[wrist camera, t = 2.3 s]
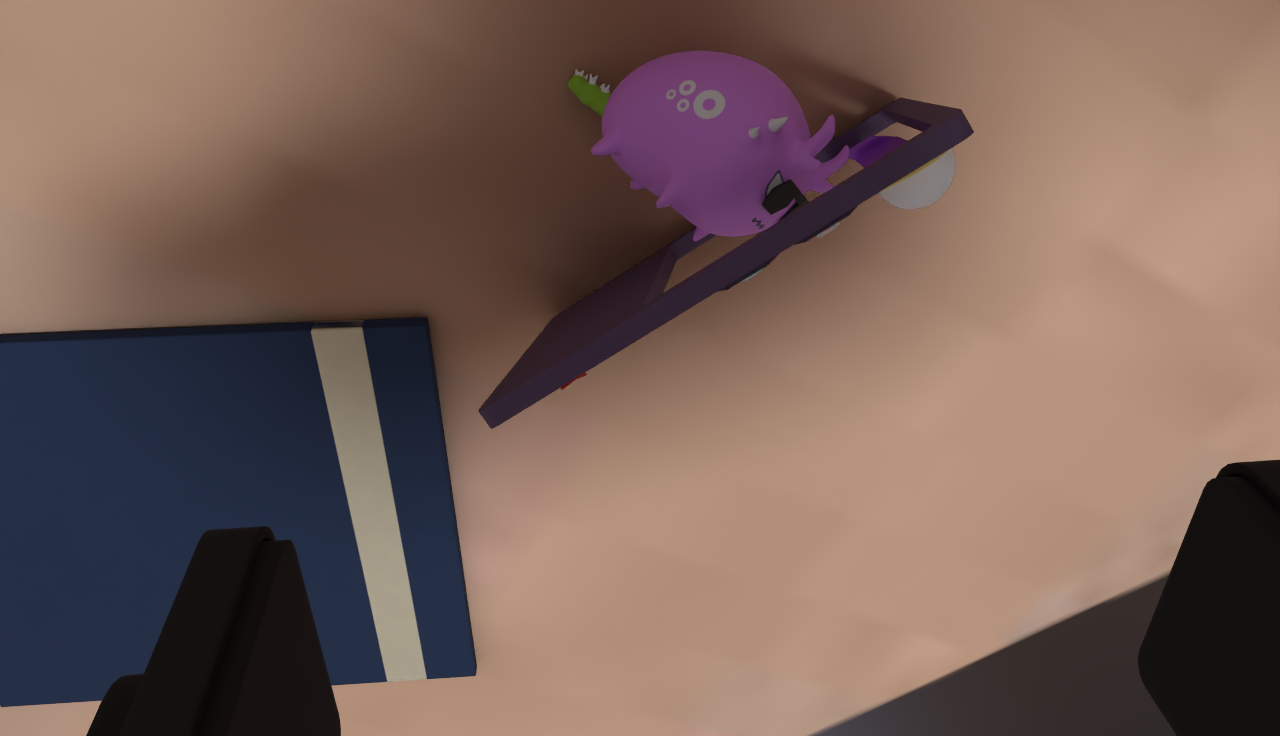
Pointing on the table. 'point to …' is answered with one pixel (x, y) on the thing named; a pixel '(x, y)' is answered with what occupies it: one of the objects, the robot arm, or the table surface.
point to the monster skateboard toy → (723, 194)
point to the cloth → (224, 493)
